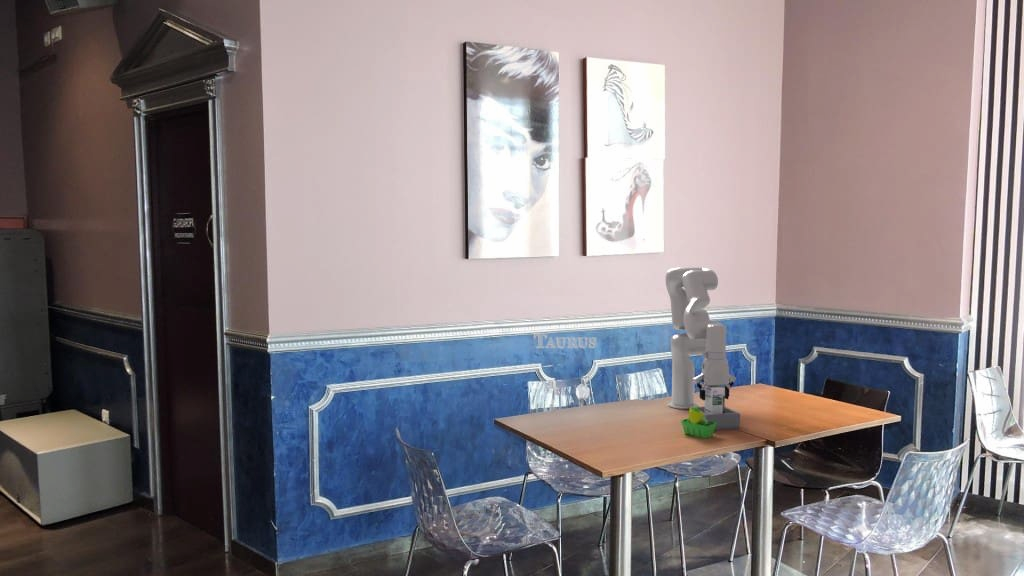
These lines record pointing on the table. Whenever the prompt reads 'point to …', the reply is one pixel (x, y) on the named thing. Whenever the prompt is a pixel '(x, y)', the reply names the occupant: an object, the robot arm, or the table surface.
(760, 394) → the table surface
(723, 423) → the bin
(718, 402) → the syrup box
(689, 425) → the fruit basket
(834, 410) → the table surface
